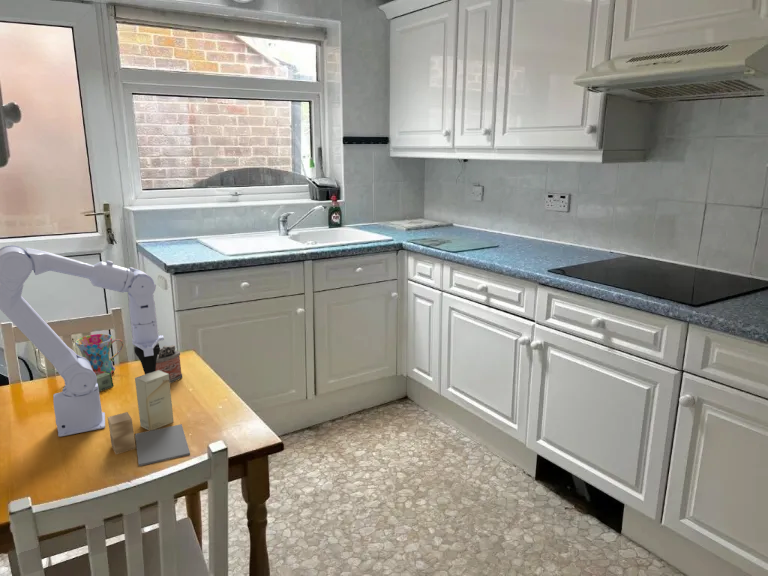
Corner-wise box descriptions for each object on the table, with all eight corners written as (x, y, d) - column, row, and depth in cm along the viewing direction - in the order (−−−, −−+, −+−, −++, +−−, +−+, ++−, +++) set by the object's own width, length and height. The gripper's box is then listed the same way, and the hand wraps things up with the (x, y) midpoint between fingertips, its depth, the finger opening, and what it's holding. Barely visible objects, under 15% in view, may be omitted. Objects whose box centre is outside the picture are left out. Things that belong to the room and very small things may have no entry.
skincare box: (150, 432, 130) (144, 382, 127) (139, 426, 132) (133, 377, 129) (174, 421, 135) (169, 373, 131) (164, 416, 137) (158, 369, 134)
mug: (84, 384, 156) (79, 347, 153) (77, 373, 163) (72, 338, 160) (130, 373, 163) (126, 337, 160) (122, 363, 170) (117, 329, 167)
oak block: (115, 454, 121) (111, 424, 119) (111, 446, 124) (107, 417, 122) (135, 448, 123) (131, 418, 121) (131, 440, 126) (127, 411, 124)
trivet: (138, 466, 116) (138, 464, 116) (135, 435, 128) (134, 433, 128) (190, 454, 120) (189, 452, 120) (181, 425, 132) (181, 424, 132)
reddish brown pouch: (177, 374, 161) (174, 341, 159) (185, 377, 160) (181, 343, 157) (152, 384, 155) (147, 349, 153) (159, 387, 153) (155, 352, 151)
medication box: (108, 384, 156) (106, 371, 155) (114, 386, 154) (112, 372, 153) (64, 401, 146) (62, 386, 145) (70, 403, 145) (67, 389, 144)
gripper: (164, 327, 131) (170, 382, 135) (158, 311, 144) (164, 361, 147) (131, 332, 128) (138, 387, 132) (128, 314, 141) (134, 366, 144)
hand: (150, 374), depth 139 cm, fingers closed
